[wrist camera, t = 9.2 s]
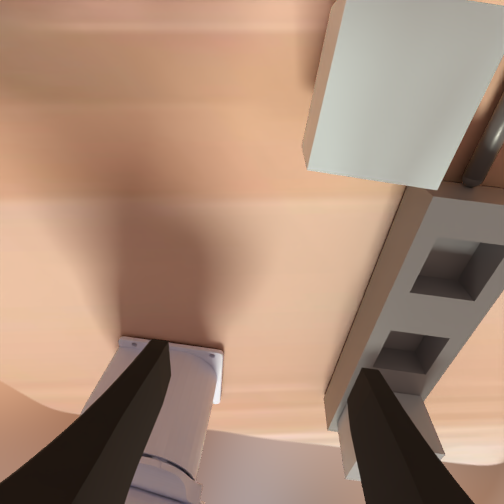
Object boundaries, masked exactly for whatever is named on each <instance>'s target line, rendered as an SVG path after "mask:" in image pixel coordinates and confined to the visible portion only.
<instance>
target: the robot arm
mask: <svg viewBox="0 0 504 504" xmlns="http://www.w3.org/2000/svg"><path fill="white" fill-rule="evenodd" d="M118 343H119V348H118V350H117V351H116V353H115V355H114V356H113V358H112V360H111V362H110V363H109V365H108V367H107V368H106V370H105V372H104V373H103V375H102V377H101V379H100V380H99V382H98V384H97V385H96V387H95V389H94V390H93V392H92V394H91V395H90V397H89V399H88V401H87V402H86V404H85V406H84V408H83V410H82V412H81V414H80V416H79V418H78V419H76V420H75V421H74V422H73V423H72V424H71V425H70V426H69V427H68V428H67V429H66V430H64V432H62V433H61V434H60V435H59V436H58V437H56V438H55V439H54V440H53V441H52V442H51V443H50V444H48V445H47V446H46V447H45V448H43V449H42V450H41V451H40V452H39V453H37V454H36V455H35V456H34V457H33V458H31V459H30V460H29V461H28V462H27V463H25V464H24V465H23V466H22V467H20V468H19V469H18V470H17V471H15V472H14V473H13V474H11V475H10V476H9V477H7V478H6V479H5V480H3V481H2V482H1V483H0V504H206V503H205V502H203V501H200V499H201V493H202V488H203V485H202V484H200V483H198V482H196V479H197V474H198V470H199V465H200V460H201V455H202V451H203V446H204V441H205V436H206V432H207V427H208V422H209V417H210V413H211V408H212V404H218V403H220V400H221V387H222V372H223V358H224V353H223V351H221V350H219V349H211V348H204V347H197V346H190V345H183V344H176V343H169V341H164V340H156V339H152V340H147V339H140V338H133V337H126V336H122V337H120V339H119V340H118ZM347 405H348V416H349V425H350V432H351V437H352V442H353V446H354V451H355V456H356V460H357V465H358V469H359V474H360V478H361V483H362V487H363V492H364V496H365V501H366V504H474V503H473V501H472V500H471V499H470V498H469V496H468V495H467V494H466V493H465V492H464V490H463V489H462V488H461V487H460V485H459V484H458V483H457V482H456V480H455V479H454V478H453V477H452V475H451V474H450V473H449V471H448V470H447V469H446V468H445V466H444V465H443V463H442V462H441V461H440V459H439V458H438V457H437V455H436V454H435V453H434V451H433V450H432V449H431V447H430V446H429V444H428V443H427V442H426V440H425V439H424V437H423V436H422V435H421V433H420V432H419V430H418V429H417V427H416V426H415V424H414V423H413V422H412V420H411V419H410V417H409V416H408V414H407V413H406V411H405V410H404V408H403V407H402V405H401V404H400V402H399V400H398V399H397V397H396V396H395V394H394V393H393V391H392V390H391V388H390V386H389V385H388V383H387V382H386V380H385V379H384V377H383V375H382V374H381V372H380V371H379V370H377V369H370V368H361V370H360V373H359V375H358V377H357V379H356V381H355V384H354V386H353V388H352V390H351V392H350V394H349V397H348V399H347Z"/></svg>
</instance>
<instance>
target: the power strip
mask: <svg viewBox="0 0 504 504" xmlns="http://www.w3.org/2000/svg"><path fill="white" fill-rule="evenodd" d="M503 143H504V92H503V94H502V96H501V98H500V100H499V102H498V104H497V106H496V108H495V110H494V112H493V114H492V117H491V119H490V121H489V123H488V125H487V127H486V129H485V131H484V133H483V135H482V137H481V139H480V141H479V143H478V145H477V147H476V149H475V151H474V153H473V155H472V157H471V159H470V162H469V164H468V166H467V168H466V170H465V172H464V174H463V176H462V182H463V183H455V182H447V181H441V184H440V186H439V188H438V190H432V189H425V188H419V187H412V186H407V188H406V191H405V193H404V196H403V198H402V201H401V203H400V206H399V209H398V211H397V214H396V216H395V219H394V221H393V224H392V226H391V229H390V231H389V234H388V236H387V239H386V242H385V244H384V247H383V249H382V252H381V254H380V257H379V259H378V262H377V264H376V267H375V269H374V272H373V275H372V277H371V280H370V282H369V285H368V287H367V290H366V292H365V295H364V297H363V300H362V302H361V305H360V308H359V310H358V313H357V315H356V318H355V320H354V323H353V325H352V328H351V330H350V333H349V335H348V338H347V341H346V343H345V346H344V348H343V351H342V353H341V356H340V358H339V361H338V363H337V366H336V368H335V371H334V374H333V376H332V379H331V381H330V384H329V386H328V389H327V391H326V394H325V396H324V404H325V413H326V421H327V429H328V431H335V432H338V434H339V441H340V447H341V454H342V461H343V467H344V474H345V479H349V480H356V481H361V478H360V474H359V469H358V465H357V460H356V456H355V451H354V446H353V442H352V437H351V432H350V425H349V416H348V405H347V399H348V397H349V394H350V392H351V390H352V388H353V386H354V384H355V381H356V379H357V377H358V375H359V373H360V370H361V368H370V369H377V370H379V371H380V372H381V374H382V375H383V377H384V379H385V380H386V382H387V383H388V385H389V386H390V388H391V390H392V391H393V393H394V394H395V396H396V397H397V399H398V400H399V402H400V404H401V405H402V407H403V408H404V410H405V411H406V413H407V414H408V416H409V417H410V419H411V420H412V422H413V423H414V424H415V426H416V427H417V429H418V430H419V432H420V433H421V435H422V436H423V437H424V439H425V440H426V442H427V443H428V444H429V446H430V447H431V449H432V450H433V451H434V453H435V454H436V455H437V457H438V458H439V459H440V460H441V459H442V458H443V457H444V456H445V453H444V450H443V448H442V445H441V443H440V441H439V438H438V436H437V433H436V431H435V429H434V426H433V424H432V421H431V419H430V417H429V414H428V412H427V409H426V407H425V405H424V400H425V399H426V397H427V396H428V395H429V393H430V392H431V391H432V389H433V388H434V386H435V385H436V384H437V382H438V381H439V379H440V378H441V377H442V375H443V374H444V372H445V371H446V370H447V368H448V367H449V365H450V364H451V363H452V361H453V360H454V358H455V357H456V356H457V354H458V353H459V351H460V350H461V349H462V347H463V346H464V344H465V343H466V342H467V340H468V339H469V337H470V336H471V335H472V333H473V332H474V331H475V329H476V328H477V326H478V325H479V324H480V322H481V321H482V319H483V318H484V317H485V315H486V314H487V312H488V311H489V310H490V308H491V307H492V305H493V304H494V303H495V301H496V300H497V298H498V297H499V296H500V294H501V293H502V291H503V290H504V188H496V187H488V186H480V184H481V183H482V182H483V181H484V179H485V177H486V175H487V173H488V171H489V170H490V168H491V166H492V164H493V162H494V160H495V158H496V156H497V154H498V153H499V151H500V149H501V147H502V145H503Z"/></svg>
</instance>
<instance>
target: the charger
mask: <svg viewBox="0 0 504 504" xmlns="http://www.w3.org/2000/svg"><path fill="white" fill-rule="evenodd" d="M503 55H504V6H502V5H495V4H488V3H482V2H475V1H468V0H336V2H335V3H334V4H333V5H332V7H331V10H330V15H329V20H328V24H327V29H326V34H325V38H324V43H323V48H322V53H321V57H320V62H319V67H318V71H317V76H316V81H315V86H314V90H313V95H312V100H311V104H310V109H309V114H308V119H307V123H306V128H305V133H304V137H303V142H302V150H303V155H304V159H305V163H306V168H307V170H310V171H316V172H323V173H329V174H335V175H342V176H348V177H355V178H361V179H367V180H374V181H380V182H387V183H393V184H400V185H406V186H412V187H419V188H425V189H432V190H438V188H439V186H440V184H441V181H442V179H443V177H444V175H445V173H446V171H447V169H448V167H449V165H450V163H451V161H452V159H453V157H454V155H455V153H456V151H457V149H458V147H459V145H460V143H461V141H462V139H463V137H464V135H465V133H466V130H467V128H468V126H469V124H470V122H471V120H472V118H473V116H474V114H475V112H476V110H477V108H478V106H479V104H480V102H481V100H482V98H483V96H484V94H485V92H486V90H487V88H488V86H489V84H490V82H491V80H492V77H493V75H494V73H495V71H496V69H497V67H498V65H499V63H500V61H501V59H502V57H503Z"/></svg>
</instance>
